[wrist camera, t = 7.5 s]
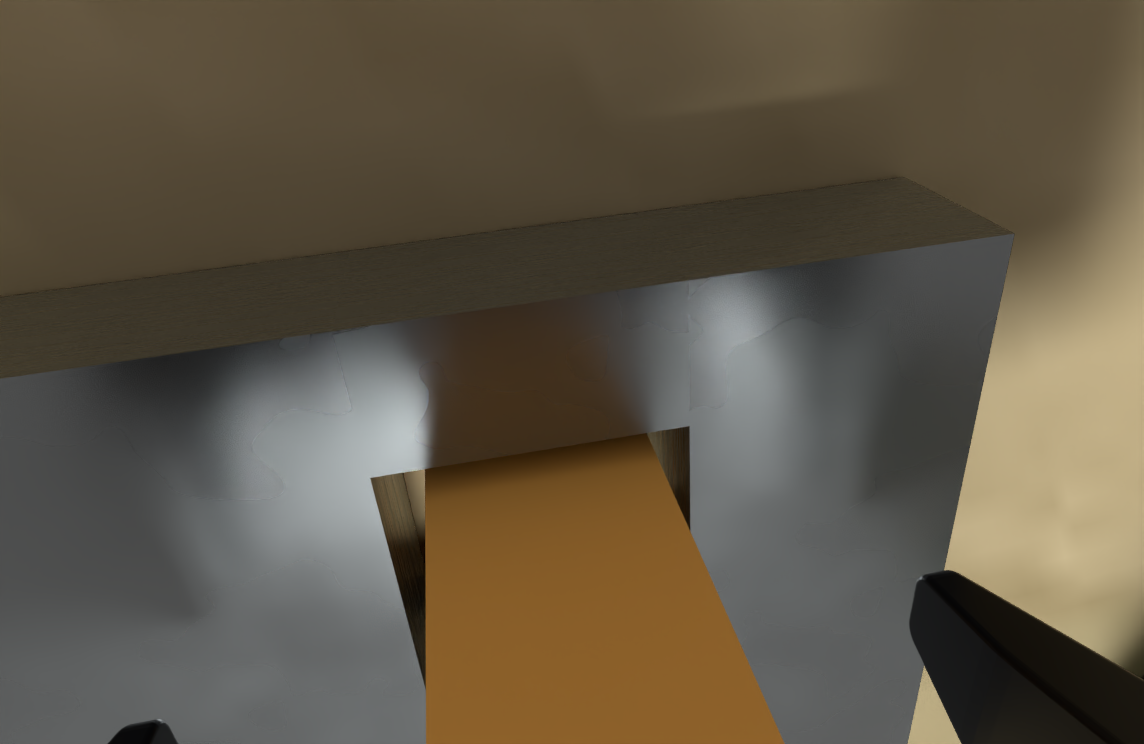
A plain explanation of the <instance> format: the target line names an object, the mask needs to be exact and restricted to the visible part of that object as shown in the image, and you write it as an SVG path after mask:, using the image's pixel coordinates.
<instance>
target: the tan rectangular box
mask: <svg viewBox="0 0 1144 744" xmlns="http://www.w3.org/2000/svg"><path fill="white" fill-rule="evenodd" d="M425 564H426V744H784V741H783V739H782V737H781V735H780V732H779V730H778V728H777V726H776V723H775V721H774V719H773V717H772V714H771V712H770V710H769V708H768V705H767V703H766V701H765V699H764V696H763V694H762V692H761V690H760V687H759V685H758V683H757V681H756V678H755V676H754V674H753V672H752V669H751V667H750V665H749V663H748V660H747V658H746V656H745V654H744V651H743V649H742V647H741V645H740V642H739V640H738V638H737V635H736V633H735V631H734V629H733V626H732V624H731V622H730V620H729V617H728V615H727V613H726V611H725V608H724V606H723V604H722V602H721V599H720V597H719V595H718V593H717V590H716V588H715V586H714V584H713V581H712V579H711V577H710V575H709V572H708V570H707V568H706V566H705V563H704V561H703V559H702V557H701V554H700V552H699V550H698V548H697V545H696V543H695V541H694V539H693V536H692V534H691V532H690V530H689V527H688V525H687V523H686V521H685V518H684V516H683V514H682V512H681V509H680V507H679V505H678V503H677V500H676V498H675V496H674V494H673V491H672V489H671V487H670V485H669V482H668V480H667V478H666V476H665V473H664V471H663V469H662V467H661V464H660V462H659V460H658V458H657V455H656V453H655V451H654V449H653V446H652V444H651V442H650V440H649V437H648V435H647V433H644V434H638V435H631V436H625V437H619V438H613V439H607V440H601V441H595V442H588V443H582V444H576V445H570V446H564V447H558V448H551V449H545V450H539V451H533V452H527V453H521V454H514V455H508V456H502V457H496V458H490V459H484V460H478V461H471V462H465V463H459V464H453V465H447V466H441V467H434V468H428V469H425Z"/></svg>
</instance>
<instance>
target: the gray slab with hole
mask: <svg viewBox="0 0 1144 744" xmlns="http://www.w3.org/2000/svg"><path fill="white" fill-rule="evenodd" d="M1013 239H1014V233H1012V232H1010V231H1009V230H1007V229H1005V228H1003V227H1001V226H999V225H997V224H995V223H993V222H991V221H989V220H987V219H985V218H983V217H981V216H979V215H977V214H975V213H973V212H971V211H969V210H968V209H966V208H964V207H962V206H960V205H958V204H956V203H954V202H952V201H950V200H948V199H946V198H944V197H942V196H940V195H938V194H936V193H934V192H932V191H930V190H928V189H927V188H925V187H923V186H921V185H919V184H917V183H915V182H913V181H911V180H909V179H907V178H905V177H900V178H893V179H885V180H878V181H870V182H863V183H855V184H848V185H840V186H833V187H825V188H818V189H810V190H803V191H795V192H788V193H780V194H773V195H765V196H758V197H750V198H743V199H735V200H728V201H720V202H713V203H705V204H698V205H690V206H683V207H675V208H668V209H660V210H653V211H645V212H638V213H630V214H623V215H615V216H608V217H600V218H593V219H585V220H578V221H570V222H563V223H555V224H548V225H540V226H532V227H525V228H517V229H510V230H502V231H495V232H487V233H480V234H472V235H465V236H457V237H450V238H442V239H435V240H427V241H420V242H412V243H405V244H397V245H390V246H382V247H375V248H367V249H360V250H352V251H345V252H337V253H330V254H322V255H315V256H307V257H300V258H292V259H285V260H277V261H270V262H262V263H255V264H247V265H240V266H232V267H225V268H217V269H210V270H202V271H195V272H187V273H180V274H172V275H165V276H157V277H150V278H142V279H135V280H127V281H120V282H112V283H105V284H97V285H90V286H82V287H75V288H67V289H60V290H52V291H45V292H37V293H30V294H22V295H15V296H7V297H0V744H108V742H109V741H110V740H111V739H112V738H113V737H114V736H115V734H116V733H117V732H118V731H119V730H121V729H122V728H123V727H125V726H127V725H130V724H134V723H139V722H145V721H150V720H155V719H161V720H163V721H165V722H166V723H167V724H168V725H169V727H170V729H171V731H172V733H173V734H174V736H175V738H176V740H177V742H178V744H426V571H425V566H424V562H423V558H422V554H421V549H420V545H419V541H418V537H417V532H416V528H415V524H414V520H413V515H412V511H411V507H410V503H409V498H408V494H407V490H406V486H405V481H404V477H403V473H404V472H410V471H416V470H422V469H428V468H434V467H441V466H447V465H453V464H459V463H465V462H471V461H478V460H484V459H490V458H496V457H502V456H508V455H514V454H521V453H527V452H533V451H539V450H545V449H551V448H558V447H564V446H570V445H576V444H582V443H588V442H595V441H601V440H607V439H613V438H619V437H625V436H631V435H638V434H644V433H647V435H648V437H649V440H650V442H651V444H652V446H653V449H654V451H655V453H656V455H657V458H658V460H659V462H660V464H661V467H662V469H663V471H664V473H665V476H666V478H667V480H668V482H669V485H670V487H671V489H672V491H673V494H674V496H675V498H676V500H677V503H678V505H679V507H680V509H681V512H682V514H683V516H684V518H685V521H686V523H687V525H688V527H689V530H690V532H691V534H692V536H693V539H694V541H695V543H696V545H697V548H698V550H699V552H700V554H701V557H702V559H703V561H704V563H705V566H706V568H707V570H708V572H709V575H710V577H711V579H712V581H713V584H714V586H715V588H716V590H717V593H718V595H719V597H720V599H721V602H722V604H723V606H724V608H725V611H726V613H727V615H728V617H729V620H730V622H731V624H732V626H733V629H734V631H735V633H736V635H737V638H738V640H739V642H740V645H741V647H742V649H743V651H744V654H745V656H746V658H747V660H748V663H749V665H750V667H751V669H752V672H753V674H754V676H755V678H756V681H757V683H758V685H759V687H760V690H761V692H762V694H763V696H764V699H765V701H766V703H767V705H768V708H769V710H770V712H771V714H772V717H773V719H774V721H775V723H776V726H777V728H778V730H779V732H780V735H781V737H782V739H783V741H784V744H907V743H908V739H909V734H910V729H911V724H912V720H913V715H914V710H915V705H916V701H917V696H918V691H919V686H920V682H921V677H922V672H923V667H924V664H923V661H922V659H921V657H920V655H919V653H918V651H917V649H916V647H915V644H914V642H913V640H912V637H911V634H910V629H909V618H910V612H911V607H912V602H913V596H914V591H915V586H916V582H917V580H918V579H919V577H920V576H922V575H924V574H929V573H935V572H940V571H944V567H945V563H946V558H947V553H948V548H949V544H950V539H951V534H952V529H953V524H954V520H955V515H956V510H957V505H958V501H959V496H960V491H961V486H962V482H963V477H964V472H965V467H966V463H967V458H968V453H969V448H970V444H971V439H972V434H973V429H974V424H975V420H976V415H977V410H978V405H979V401H980V396H981V391H982V386H983V382H984V377H985V372H986V367H987V363H988V358H989V353H990V348H991V344H992V339H993V334H994V329H995V324H996V320H997V315H998V310H999V305H1000V301H1001V296H1002V291H1003V286H1004V282H1005V277H1006V272H1007V267H1008V263H1009V258H1010V253H1011V248H1012V244H1013Z"/></svg>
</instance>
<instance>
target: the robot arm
mask: <svg viewBox="0 0 1144 744" xmlns="http://www.w3.org/2000/svg"><path fill="white" fill-rule="evenodd" d="M909 629H910V634H911V637H912V640H913V642H914V644H915V647H916V649H917V651H918V653H919V655H920V657H921V659H922V661H923V664H924V666H925V668H926V670H927V672H928V674H929V676H930V678H931V680H932V683H933V685H934V687H935V689H936V691H937V693H938V695H939V697H940V699H941V702H942V704H943V706H944V708H945V710H946V712H947V714H948V716H949V718H950V721H951V723H952V725H953V727H954V729H955V731H956V733H957V735H958V738H959V740H960V742H961V743H962V744H1144V680H1143V679H1141V678H1140V677H1138V676H1136V675H1134V674H1133V673H1131V672H1129V671H1128V670H1126V669H1124V668H1122V667H1121V666H1119V665H1117V664H1115V663H1114V662H1112V661H1110V660H1108V659H1107V658H1105V657H1103V656H1101V655H1100V654H1098V653H1096V652H1095V651H1093V650H1091V649H1089V648H1088V647H1086V646H1084V645H1082V644H1081V643H1079V642H1077V641H1075V640H1074V639H1072V638H1070V637H1069V636H1067V635H1065V634H1063V633H1062V632H1060V631H1058V630H1056V629H1055V628H1053V627H1051V626H1049V625H1048V624H1046V623H1044V622H1042V621H1041V620H1039V619H1037V618H1036V617H1034V616H1032V615H1030V614H1029V613H1027V612H1025V611H1023V610H1022V609H1020V608H1018V607H1016V606H1015V605H1013V604H1011V603H1010V602H1008V601H1006V600H1004V599H1003V598H1001V597H999V596H997V595H996V594H994V593H992V592H990V591H989V590H987V589H985V588H983V587H982V586H980V585H978V584H977V583H975V582H973V581H971V580H970V579H968V578H966V577H964V576H963V575H961V574H959V573H957V572H954V571H950V570H946V571H940V572H935V573H929V574H924V575H922V576H920V577H919V579H918V580H917V582H916V586H915V591H914V596H913V602H912V607H911V612H910V618H909ZM108 744H178V742H177V740H176V738H175V736H174V734H173V733H172V731H171V729H170V727H169V725H168V724H167V723H166V722H165V721H163V720H161V719H155V720H150V721H145V722H139V723H134V724H130V725H127V726H125V727H123V728H122V729H121V730H119V731H118V732H117V733H116V734H115V736H114V737H113V738H112V739H111V740H110V741H109V742H108Z"/></svg>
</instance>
